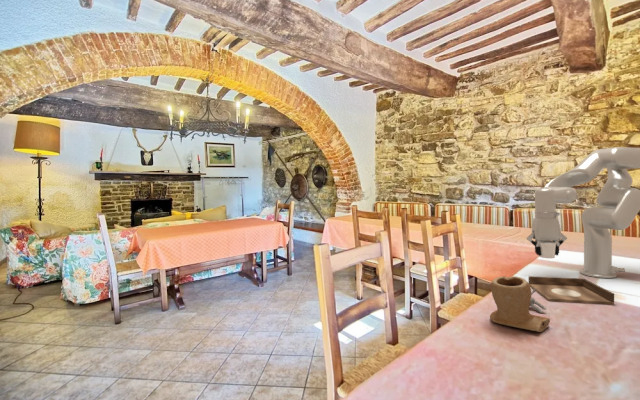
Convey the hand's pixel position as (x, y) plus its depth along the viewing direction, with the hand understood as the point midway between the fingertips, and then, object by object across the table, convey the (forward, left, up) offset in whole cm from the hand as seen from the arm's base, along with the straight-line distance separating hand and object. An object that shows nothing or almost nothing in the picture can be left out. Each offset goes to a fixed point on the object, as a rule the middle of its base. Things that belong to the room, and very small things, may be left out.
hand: (547, 254), depth 137 cm
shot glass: (0, 0, -1) cm, 1 cm away
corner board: (+2, +21, -11) cm, 24 cm away
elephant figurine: (+20, +39, -11) cm, 45 cm away
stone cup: (+30, +54, -11) cm, 63 cm away
